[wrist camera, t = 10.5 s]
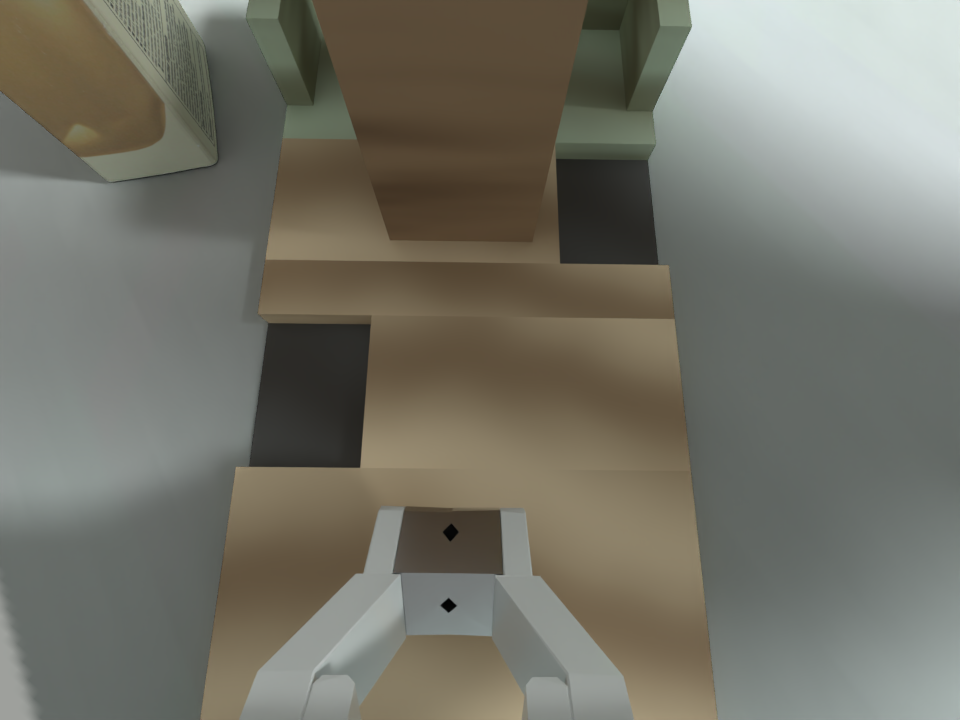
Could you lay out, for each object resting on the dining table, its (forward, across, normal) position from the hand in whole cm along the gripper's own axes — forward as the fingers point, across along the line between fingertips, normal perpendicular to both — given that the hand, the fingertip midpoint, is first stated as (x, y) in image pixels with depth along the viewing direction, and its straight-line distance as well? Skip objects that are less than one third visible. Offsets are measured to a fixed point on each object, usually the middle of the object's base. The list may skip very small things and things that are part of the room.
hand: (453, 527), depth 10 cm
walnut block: (+12, 0, -6) cm, 14 cm away
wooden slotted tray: (+9, 0, -1) cm, 9 cm away
